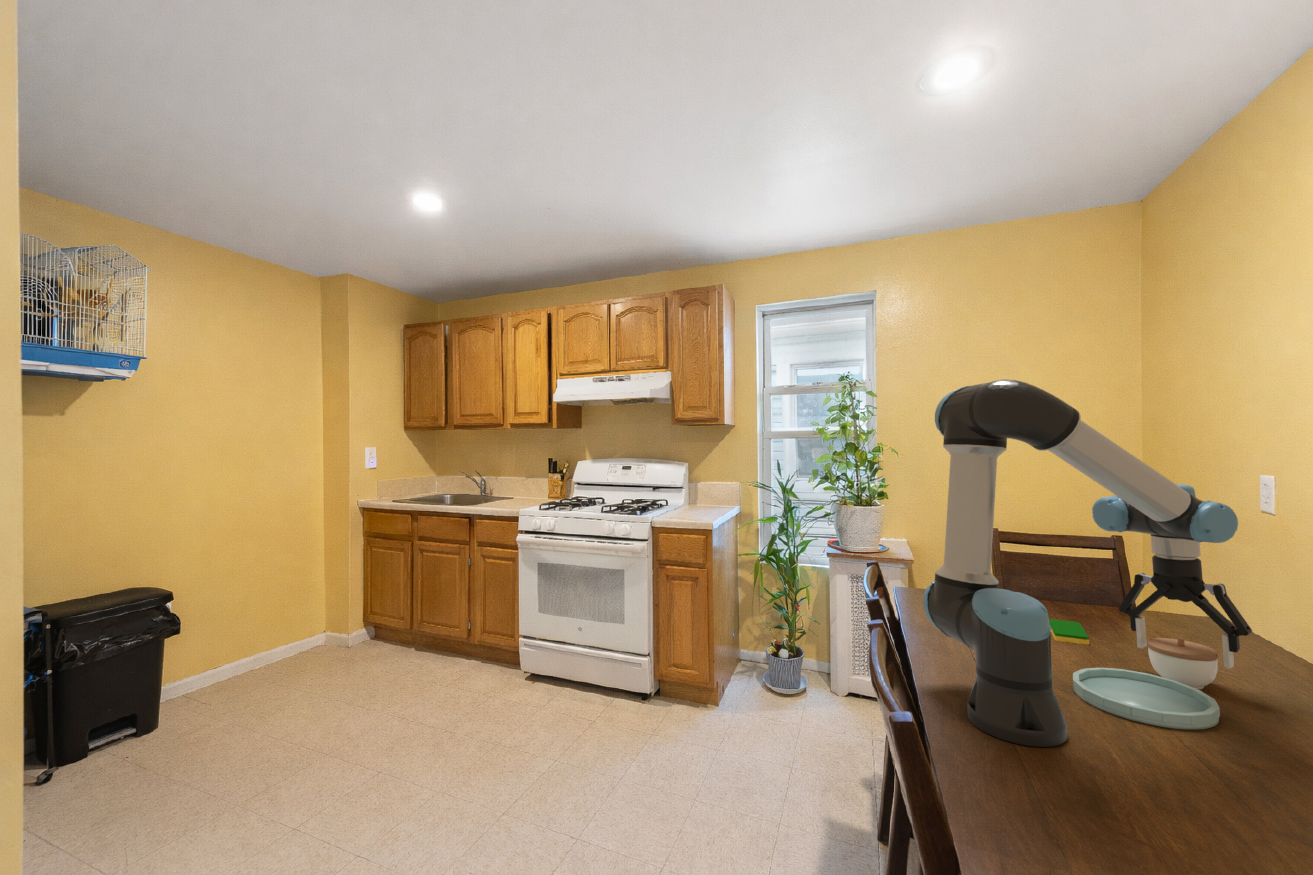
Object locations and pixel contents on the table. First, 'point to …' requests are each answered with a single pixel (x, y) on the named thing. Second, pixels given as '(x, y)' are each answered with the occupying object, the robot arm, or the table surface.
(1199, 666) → the lidded jar
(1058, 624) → the dish sponge
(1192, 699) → the round tray
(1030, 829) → the table surface
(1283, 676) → the table surface
